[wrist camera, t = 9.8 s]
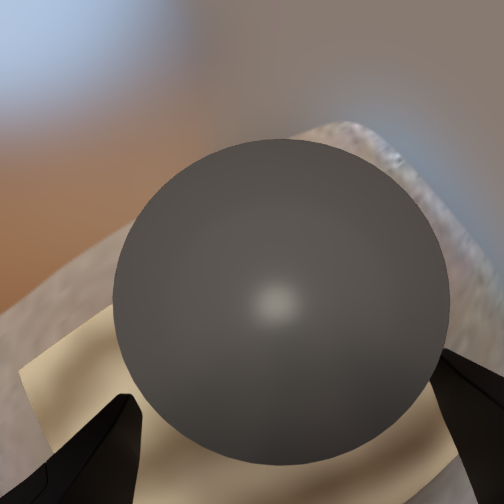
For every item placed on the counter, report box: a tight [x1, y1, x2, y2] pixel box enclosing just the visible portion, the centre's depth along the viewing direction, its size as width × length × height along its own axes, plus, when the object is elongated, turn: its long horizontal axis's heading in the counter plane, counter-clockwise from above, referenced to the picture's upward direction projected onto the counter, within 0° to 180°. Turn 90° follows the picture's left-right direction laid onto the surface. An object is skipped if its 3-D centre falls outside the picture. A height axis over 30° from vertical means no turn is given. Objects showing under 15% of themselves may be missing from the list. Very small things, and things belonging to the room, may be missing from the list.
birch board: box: [19, 304, 459, 504], centre depth 16 cm, size 22×24×1 cm
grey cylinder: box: [113, 139, 450, 466], centre depth 12 cm, size 7×7×12 cm
